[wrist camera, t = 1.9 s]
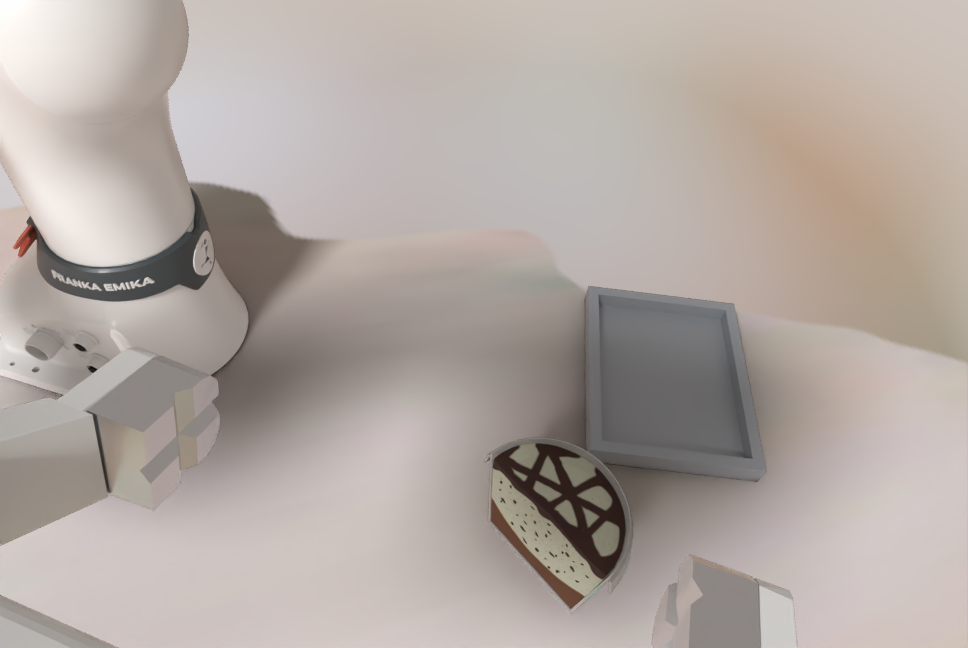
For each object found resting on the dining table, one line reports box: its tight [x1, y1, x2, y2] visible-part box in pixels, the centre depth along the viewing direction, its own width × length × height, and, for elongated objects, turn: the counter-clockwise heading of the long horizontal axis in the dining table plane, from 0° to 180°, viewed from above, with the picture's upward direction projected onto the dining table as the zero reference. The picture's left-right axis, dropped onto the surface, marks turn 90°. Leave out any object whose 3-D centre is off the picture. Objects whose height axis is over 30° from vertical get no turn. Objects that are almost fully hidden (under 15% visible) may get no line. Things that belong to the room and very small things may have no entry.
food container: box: [484, 437, 633, 613], centre depth 51 cm, size 12×6×10 cm, turn 41°
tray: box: [585, 286, 766, 482], centre depth 65 cm, size 15×19×2 cm
